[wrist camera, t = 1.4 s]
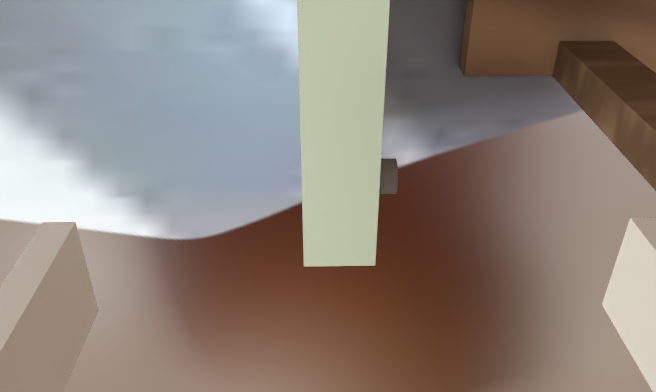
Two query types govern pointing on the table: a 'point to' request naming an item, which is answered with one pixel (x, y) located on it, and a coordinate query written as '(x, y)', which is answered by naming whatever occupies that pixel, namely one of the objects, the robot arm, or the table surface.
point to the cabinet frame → (577, 60)
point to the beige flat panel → (342, 128)
